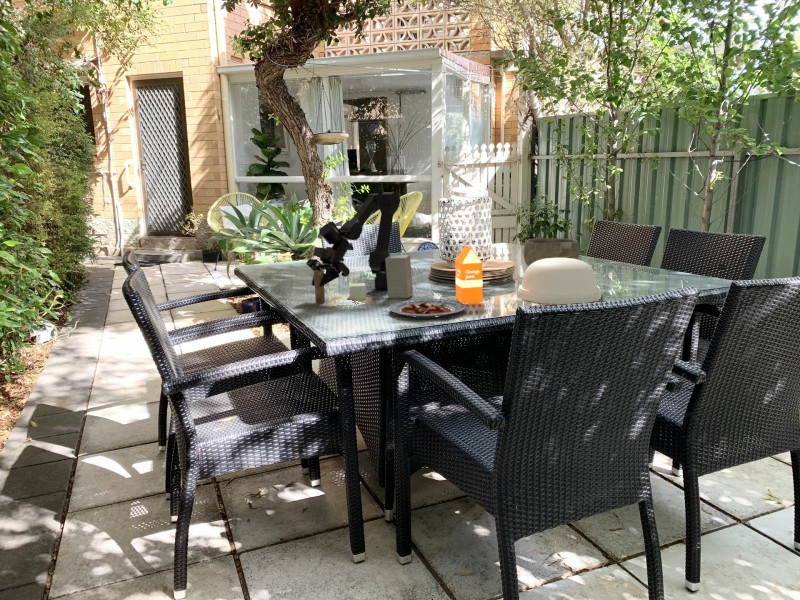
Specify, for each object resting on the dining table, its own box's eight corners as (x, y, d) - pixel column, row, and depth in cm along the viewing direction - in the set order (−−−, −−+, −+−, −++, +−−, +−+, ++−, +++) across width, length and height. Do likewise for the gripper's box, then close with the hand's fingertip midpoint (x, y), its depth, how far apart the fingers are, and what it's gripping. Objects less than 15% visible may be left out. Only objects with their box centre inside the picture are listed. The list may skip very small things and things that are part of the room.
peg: (325, 302, 232) (323, 270, 230) (324, 303, 229) (323, 271, 227) (315, 302, 232) (314, 270, 230) (315, 304, 229) (313, 272, 226)
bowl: (585, 276, 269) (586, 242, 266) (529, 278, 270) (529, 243, 267) (571, 268, 293) (571, 236, 290) (519, 269, 293) (519, 238, 290)
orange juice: (475, 298, 231) (475, 244, 227) (482, 303, 222) (482, 247, 218) (455, 299, 230) (454, 245, 226) (461, 304, 221) (461, 248, 217)
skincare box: (413, 295, 240) (412, 254, 236) (407, 299, 233) (406, 257, 230) (392, 294, 242) (391, 254, 239) (386, 298, 236) (384, 256, 233)
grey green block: (365, 295, 241) (364, 283, 240) (365, 298, 235) (365, 285, 234) (349, 296, 240) (349, 283, 239) (350, 299, 234) (349, 286, 233)
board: (370, 295, 242) (370, 295, 242) (372, 305, 224) (372, 304, 224) (329, 297, 240) (329, 296, 240) (327, 307, 223) (327, 306, 223)
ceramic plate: (408, 325, 194) (408, 315, 194) (378, 309, 218) (377, 301, 217) (479, 315, 204) (479, 306, 204) (443, 301, 228) (443, 293, 227)
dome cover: (499, 297, 233) (499, 260, 230) (544, 285, 253) (544, 251, 250) (576, 308, 210) (577, 267, 207) (618, 295, 230) (620, 257, 228)
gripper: (308, 237, 235) (287, 270, 229) (342, 239, 222) (320, 274, 217) (325, 255, 242) (305, 288, 236) (359, 259, 230) (338, 293, 224)
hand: (316, 285), depth 228 cm, fingers open, 4 cm apart
